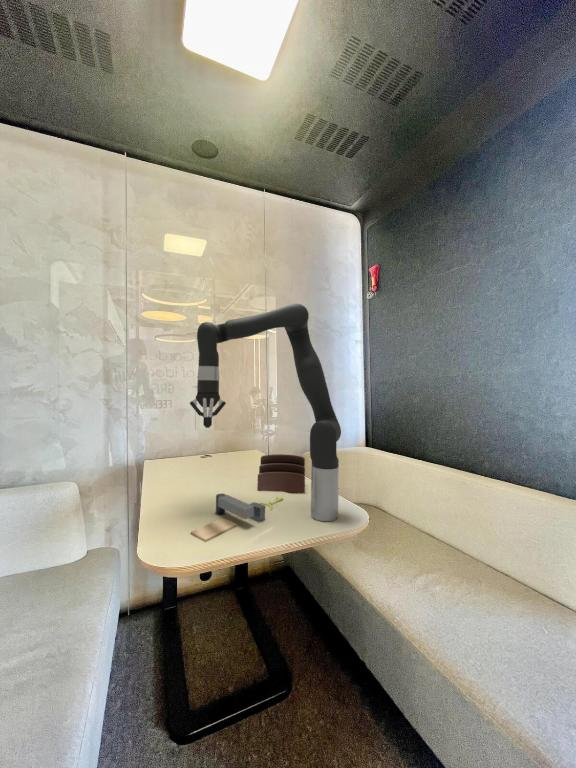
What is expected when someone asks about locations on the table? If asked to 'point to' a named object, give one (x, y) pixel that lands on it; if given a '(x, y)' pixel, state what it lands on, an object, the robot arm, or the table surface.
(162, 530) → the table surface
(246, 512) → the grey handle
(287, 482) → the letter holder
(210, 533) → the brown rectangular panel
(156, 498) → the table surface
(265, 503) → the key
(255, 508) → the block
